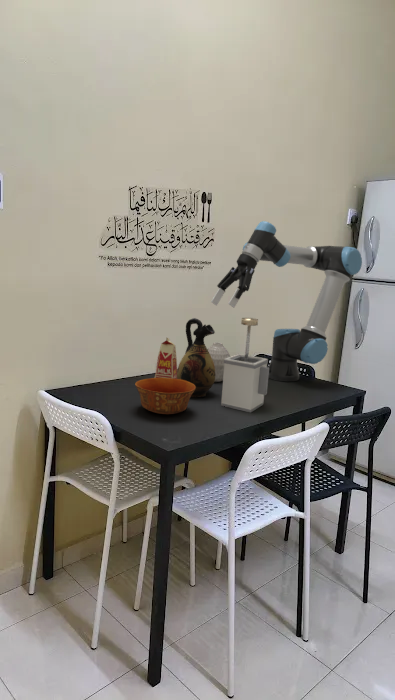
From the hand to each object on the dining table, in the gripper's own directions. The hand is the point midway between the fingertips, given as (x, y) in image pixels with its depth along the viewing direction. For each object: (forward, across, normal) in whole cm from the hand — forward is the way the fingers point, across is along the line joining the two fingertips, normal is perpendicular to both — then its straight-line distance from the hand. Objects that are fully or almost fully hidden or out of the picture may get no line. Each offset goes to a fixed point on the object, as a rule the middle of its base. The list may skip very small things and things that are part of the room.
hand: (222, 304), depth 197 cm
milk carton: (+36, -26, +9) cm, 45 cm away
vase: (+23, -26, +29) cm, 45 cm away
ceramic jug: (+34, -9, +13) cm, 38 cm away
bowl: (+46, +8, -2) cm, 47 cm away
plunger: (+19, +11, +18) cm, 28 cm away
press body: (+29, +11, +25) cm, 39 cm away
